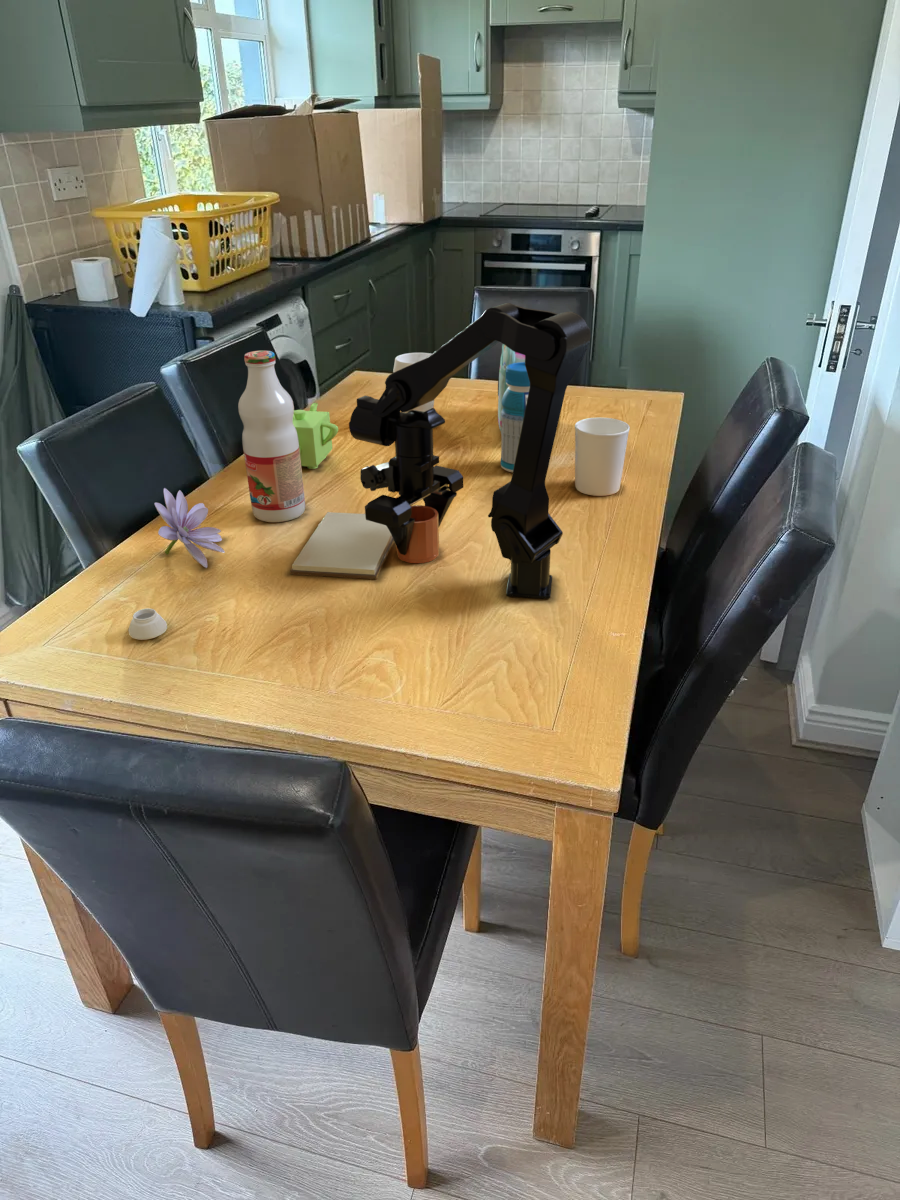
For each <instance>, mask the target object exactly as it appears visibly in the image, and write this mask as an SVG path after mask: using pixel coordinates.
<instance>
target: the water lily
mask: <svg viewBox="0 0 900 1200" xmlns="http://www.w3.org/2000/svg"><path fill="white" fill-rule="evenodd" d="M163 497H164V503H165V506H164V504H162V503H160V502H154V503H153V504H154V506H155V509H156V511H157V512H158V514H159V515H160V517H161V519H162V520H163V521H164V522H165V523H166V524H167V525H163V526H161V527H160V528H159V529H158V531H157V532H158V533H157V534H158V535H159V536H160V537H161V538H163V539H165V540H168V541H171V542H170V543H169V544H168V546H167V547H166V549H165V550H164V554H165V555H169V554H170V552H171V550H172V549H173V547H174V546H175V545H176V544H177V542H178V541H180V542H181V544H183V546H184V548H185V549H186V551H187V552H188V553H189V555H190V556H191V557H192V558H193V559H194V560H195V561H196V562H197V563H198V564H200V565H201V566H202V567H203V568H205V569H207V568H208V559H207V557H206V555H205V554H204V553H203V551H202V550H201V549H200V548H199V547H202V548H204V549H206V550H210V551H213V552H217V553H223V554H225V553H226V551H225V550H224V549H223V548H222V547H221V546H220V545H218V544H217V543H218V542H222V541H223V538H222V535H220V534H219V533H221V532H222V530H221V529H219V528H217V527H212V526H203V527H201V524H202V523H203V522H204V521H205V520H206V519H207V517H208V513H209V509H208V507H206V506H205V504H204V503H203V502H199V503H196V504H195V505H193V506H192V507H191V509H190V510H189V506H188V505H189V504H188V501H187V499H186V497H185V495H184V493H183V492H182V490H180V489H179V490H178V491H177V493H176V497H174V495H173V493H171V491H169V490H168V489H167V488H166V487H164V488H163ZM196 545H197V546H196ZM198 546H199V547H198Z"/></svg>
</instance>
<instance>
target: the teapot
mask: <svg viewBox="0 0 900 1200" xmlns="http://www.w3.org/2000/svg"><path fill="white" fill-rule="evenodd" d="M317 409H318V402H312V404H310V406H309V410H304V409H294V414H293V425H294V427H295V428H296V431H297V435H298V441H299V451H300V460H301V467H307V469H309V470H314V469H318V468H319V465H320V464H321V463H322V461H324V460H325V459H326V457H327V456H329V454H330V453H331V451H332V450H333V439H334V438H335V437H337V435H338V433H339V426H337V424H335V423H332V422H331V415H330V412H329V411H317Z"/></svg>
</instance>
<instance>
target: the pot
mask: <svg viewBox="0 0 900 1200" xmlns="http://www.w3.org/2000/svg"><path fill="white" fill-rule="evenodd" d="M411 511H412V514H411V517H410V518H413V519H415V522H414V526H413V531H412V535H411V539H410V544H409V548H408V551H407V554H406V555H403V554H400V553H399V551H398V548H397V546H396V545H395V546H396V547H395V548H396V556H397V557H398V559H399V560H401V561H403V562H406V563H408V564H409V563H410V564H424V563H429V562H432V561H434V560H435V559H437V558H438V557H439V554H440V532H439V531H440V526H439V523H438V512H437V510H436V509H434V508H432V507H428V506H425V505H419V504H413V505H412V506H411Z"/></svg>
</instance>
